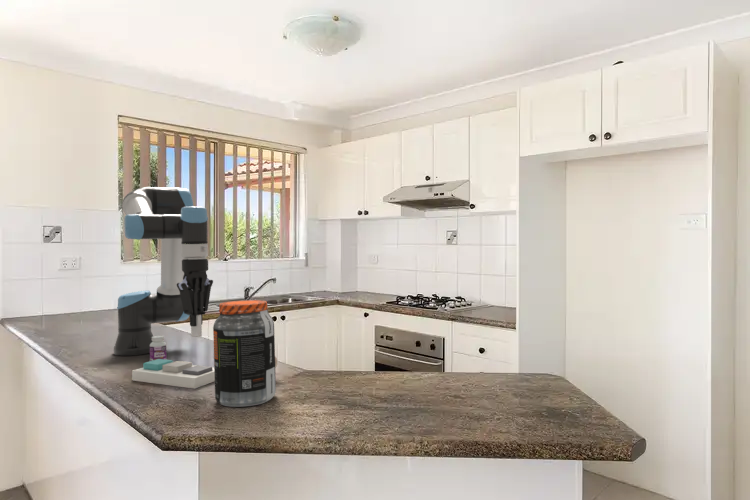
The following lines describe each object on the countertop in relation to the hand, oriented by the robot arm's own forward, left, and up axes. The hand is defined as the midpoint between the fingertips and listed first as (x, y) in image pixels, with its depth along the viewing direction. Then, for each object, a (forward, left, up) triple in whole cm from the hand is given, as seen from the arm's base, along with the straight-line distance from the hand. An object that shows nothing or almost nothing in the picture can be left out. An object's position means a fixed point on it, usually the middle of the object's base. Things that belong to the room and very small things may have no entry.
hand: (196, 336), depth 155 cm
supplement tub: (+9, +25, -14) cm, 30 cm away
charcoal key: (0, 0, -13) cm, 13 cm away
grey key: (0, -8, -12) cm, 14 cm away
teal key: (0, -16, -12) cm, 20 cm away
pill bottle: (-13, -30, -14) cm, 35 cm away
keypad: (0, -8, -14) cm, 16 cm away
